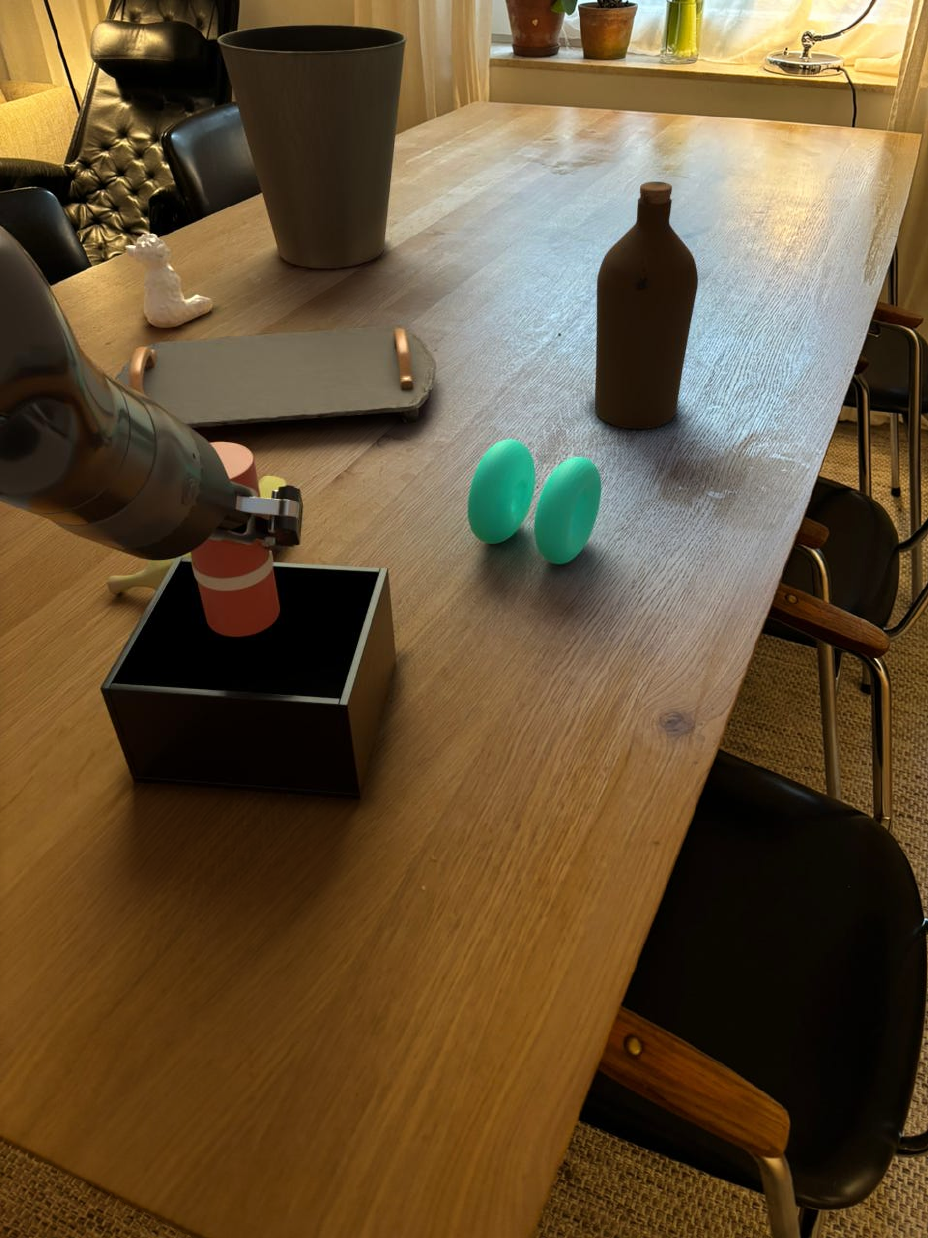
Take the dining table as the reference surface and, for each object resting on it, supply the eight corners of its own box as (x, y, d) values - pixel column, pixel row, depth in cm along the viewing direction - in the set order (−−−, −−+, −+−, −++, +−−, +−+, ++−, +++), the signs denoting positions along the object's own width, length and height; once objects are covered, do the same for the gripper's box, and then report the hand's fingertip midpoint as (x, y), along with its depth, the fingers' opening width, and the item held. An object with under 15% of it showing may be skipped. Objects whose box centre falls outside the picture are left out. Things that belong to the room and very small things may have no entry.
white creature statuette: (215, 308, 142) (199, 222, 134) (192, 333, 135) (174, 244, 128) (153, 305, 143) (133, 220, 135) (127, 330, 137) (105, 242, 129)
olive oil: (696, 424, 113) (728, 195, 97) (609, 439, 111) (627, 207, 95) (658, 384, 121) (682, 165, 105) (576, 396, 119) (587, 176, 103)
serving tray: (101, 455, 111) (86, 404, 107) (130, 364, 128) (118, 318, 124) (446, 427, 114) (444, 377, 110) (427, 342, 131) (425, 296, 127)
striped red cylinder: (194, 635, 67) (155, 481, 59) (219, 588, 70) (186, 438, 63) (269, 641, 66) (240, 486, 58) (290, 593, 70) (265, 442, 62)
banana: (313, 484, 91) (106, 580, 85) (333, 537, 94) (134, 634, 87) (265, 456, 102) (79, 539, 96) (284, 504, 105) (104, 587, 98)
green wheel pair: (559, 588, 90) (563, 495, 84) (463, 558, 94) (460, 467, 88) (602, 532, 97) (609, 442, 90) (511, 506, 101) (511, 418, 94)
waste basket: (430, 231, 164) (420, 23, 145) (402, 278, 149) (388, 51, 130) (274, 226, 168) (245, 22, 149) (231, 270, 153) (193, 49, 134)
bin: (133, 782, 74) (99, 688, 67) (199, 646, 85) (175, 556, 79) (360, 800, 72) (347, 705, 66) (396, 659, 83) (388, 567, 77)
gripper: (272, 405, 49) (348, 484, 66) (0, 394, 51) (142, 474, 67) (258, 555, 48) (339, 596, 65) (-18, 539, 50) (131, 583, 67)
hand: (238, 534), depth 66 cm, fingers closed on striped red cylinder, 5 cm apart
